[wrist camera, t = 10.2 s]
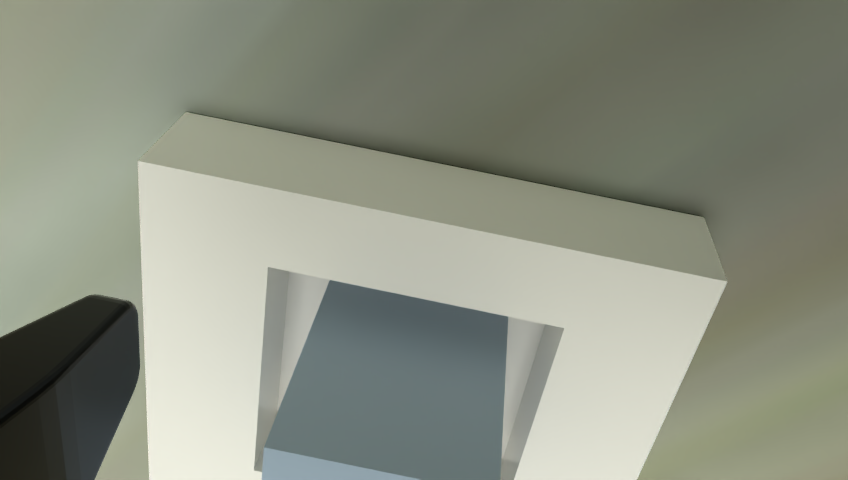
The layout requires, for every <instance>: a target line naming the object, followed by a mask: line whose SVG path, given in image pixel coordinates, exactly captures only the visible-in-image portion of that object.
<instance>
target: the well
mask: <svg viewBox="0 0 848 480" xmlns="http://www.w3.org/2000/svg"><path fill="white" fill-rule="evenodd" d="M138 184H139V211H140V239H141V266H142V293H143V320H144V348H145V375H146V402H147V429H148V457H149V480H262V466H263V451H264V445H265V443H266V440H267V438H268V435H269V433H270V430H271V428H272V425H273V423H274V420H275V418H276V415H277V412H278V410H279V407H280V405H281V402H282V400H283V397H284V395H285V392H286V390H287V387H288V385H289V382H290V380H291V377H292V374H293V372H294V369H295V367H296V364H297V362H298V359H299V357H300V354H301V352H302V349H303V347H304V344H305V342H306V339H307V336H308V334H309V331H310V329H311V326H312V324H313V321H314V319H315V316H316V314H317V311H318V309H319V306H320V303H321V301H322V298H323V296H324V293H325V291H326V288H327V286H328V283H329V281H330V280H333V281H338V282H343V283H348V284H353V285H358V286H362V287H367V288H372V289H377V290H382V291H387V292H391V293H396V294H401V295H406V296H411V297H416V298H421V299H425V300H430V301H435V302H440V303H445V304H450V305H454V306H459V307H464V308H469V309H474V310H479V311H483V312H488V313H493V314H498V315H503V316H508V334H507V354H506V374H505V395H504V415H503V436H502V456H501V476H500V480H637V478H638V476H639V474H640V472H641V469H642V467H643V465H644V463H645V461H646V459H647V456H648V454H649V452H650V450H651V448H652V445H653V443H654V441H655V439H656V437H657V435H658V432H659V430H660V428H661V426H662V424H663V421H664V419H665V417H666V415H667V413H668V411H669V408H670V406H671V404H672V402H673V400H674V397H675V395H676V393H677V391H678V389H679V387H680V384H681V382H682V380H683V378H684V376H685V373H686V371H687V369H688V367H689V365H690V363H691V360H692V358H693V356H694V354H695V352H696V349H697V347H698V345H699V343H700V341H701V339H702V336H703V334H704V332H705V330H706V328H707V325H708V323H709V321H710V319H711V317H712V315H713V312H714V310H715V308H716V306H717V304H718V301H719V299H720V297H721V295H722V293H723V291H724V288H725V286H726V284H727V282H728V281H727V279H726V276H725V273H724V271H723V268H722V265H721V262H720V260H719V257H718V254H717V251H716V249H715V246H714V243H713V241H712V238H711V235H710V232H709V230H708V227H707V224H706V221H705V219H704V217H700V216H695V215H690V214H685V213H680V212H675V211H670V210H665V209H660V208H655V207H650V206H646V205H641V204H636V203H631V202H626V201H621V200H616V199H611V198H606V197H601V196H596V195H592V194H587V193H582V192H577V191H572V190H567V189H562V188H557V187H552V186H547V185H542V184H537V183H533V182H528V181H523V180H518V179H513V178H508V177H503V176H498V175H493V174H488V173H483V172H479V171H474V170H469V169H464V168H459V167H454V166H449V165H444V164H439V163H434V162H429V161H424V160H420V159H415V158H410V157H405V156H400V155H395V154H390V153H385V152H380V151H375V150H370V149H366V148H361V147H356V146H351V145H346V144H341V143H336V142H331V141H326V140H321V139H316V138H311V137H307V136H302V135H297V134H292V133H287V132H282V131H277V130H272V129H267V128H262V127H257V126H253V125H248V124H243V123H238V122H233V121H228V120H223V119H218V118H213V117H208V116H203V115H198V114H194V113H189V112H185V113H184V114H183V115H182V116H181V117H180V118H179V119H178V121H177V122H176V123H175V124H174V125H173V126H172V127H171V128H170V129H169V130H168V131H167V132H166V133H165V134H164V135H163V136H162V137H161V138H160V139H159V140H158V141H157V142H156V143H155V144H154V145H153V146H152V147H151V148H150V149H149V150H148V151H147V152H146V153H145V154H144V155H143V156H142V157H141V158H140V159H139V160H138Z"/></svg>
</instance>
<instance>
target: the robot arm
mask: <svg viewBox="0 0 848 480" xmlns="http://www.w3.org/2000/svg"><path fill="white" fill-rule="evenodd" d="M139 370H140V355H139V330H138V313H137V310H136V307H135V305H134V304H133V303H131V302H130V301H127V300H122V299H117V298H113V297H108V296H103V295H89V296H87V297H84V298H82V299H80V300H78V301H76V302H73V303H71V304H69V305H67V306H65V307H63V308H61V309H59V310H57V311H55V312H52V313H50V314H48V315H46V316H44V317H42V318H40V319H38V320H36V321H34V322H31V323H29V324H27V325H25V326H23V327H21V328H19V329H17V330H15V331H13V332H10V333H8V334H6V335H4V336H2V337H0V480H95V477H96V475H97V473H98V471H99V468H100V466H101V464H102V462H103V459H104V457H105V455H106V453H107V450H108V448H109V446H110V444H111V441H112V439H113V437H114V435H115V432H116V430H117V428H118V426H119V423H120V421H121V419H122V417H123V414H124V412H125V410H126V408H127V405H128V403H129V401H130V399H131V396H132V394H133V392H134V389H135V387H136V384H137V381H138V376H139Z"/></svg>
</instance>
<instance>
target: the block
mask: <svg viewBox="0 0 848 480" xmlns="http://www.w3.org/2000/svg"><path fill="white" fill-rule="evenodd" d="M507 334H508V316H503V315H498V314H493V313H488V312H483V311H479V310H474V309H469V308H464V307H459V306H454V305H450V304H445V303H440V302H435V301H430V300H425V299H421V298H416V297H411V296H406V295H401V294H396V293H391V292H387V291H382V290H377V289H372V288H367V287H362V286H358V285H353V284H348V283H343V282H338V281H333V280H330V281H329V283H328V286H327V288H326V291H325V293H324V296H323V298H322V301H321V303H320V306H319V309H318V311H317V314H316V316H315V319H314V321H313V324H312V326H311V329H310V331H309V334H308V336H307V339H306V342H305V344H304V347H303V349H302V352H301V354H300V357H299V359H298V362H297V364H296V367H295V369H294V372H293V374H292V377H291V380H290V382H289V385H288V387H287V390H286V392H285V395H284V397H283V400H282V402H281V405H280V407H279V410H278V412H277V415H276V418H275V420H274V423H273V425H272V428H271V430H270V433H269V435H268V438H267V440H266V443H265V445H264V451H263V466H262V480H500V476H501V456H502V436H503V415H504V395H505V374H506V354H507Z"/></svg>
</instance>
